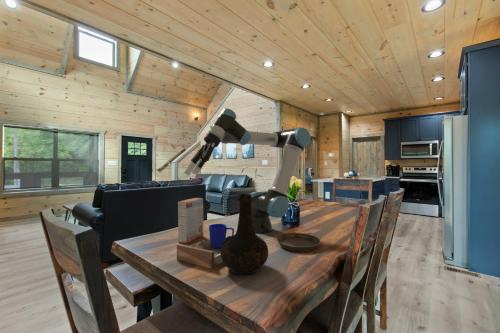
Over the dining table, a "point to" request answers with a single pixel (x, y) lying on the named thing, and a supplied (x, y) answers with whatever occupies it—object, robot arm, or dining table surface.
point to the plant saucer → (298, 241)
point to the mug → (218, 234)
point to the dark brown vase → (244, 243)
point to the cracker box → (190, 219)
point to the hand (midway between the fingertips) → (190, 174)
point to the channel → (198, 255)
